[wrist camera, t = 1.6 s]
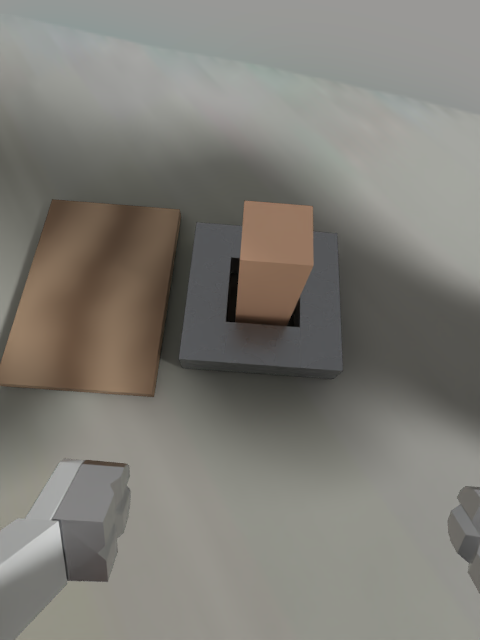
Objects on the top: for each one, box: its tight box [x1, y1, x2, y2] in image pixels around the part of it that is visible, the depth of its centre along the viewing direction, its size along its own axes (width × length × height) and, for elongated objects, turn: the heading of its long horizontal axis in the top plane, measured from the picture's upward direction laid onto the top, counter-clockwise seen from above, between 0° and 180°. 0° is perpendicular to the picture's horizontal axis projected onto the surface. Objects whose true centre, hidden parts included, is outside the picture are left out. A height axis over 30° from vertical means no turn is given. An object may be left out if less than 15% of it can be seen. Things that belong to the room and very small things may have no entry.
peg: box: [235, 201, 314, 326], centre depth 25 cm, size 4×4×10 cm
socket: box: [179, 222, 343, 379], centre depth 29 cm, size 11×11×2 cm
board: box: [0, 199, 181, 397], centre depth 29 cm, size 11×16×1 cm
